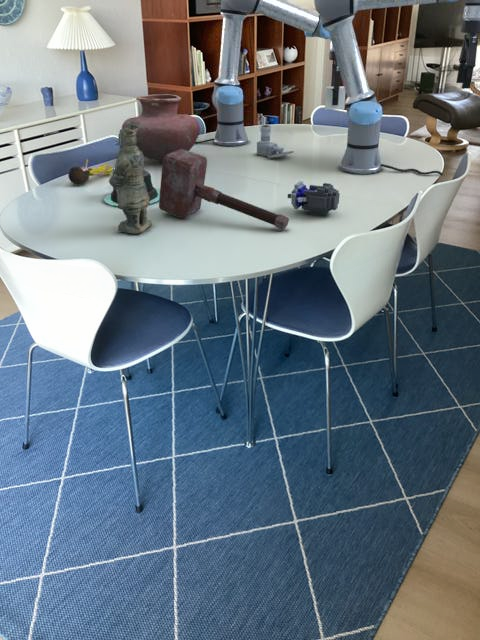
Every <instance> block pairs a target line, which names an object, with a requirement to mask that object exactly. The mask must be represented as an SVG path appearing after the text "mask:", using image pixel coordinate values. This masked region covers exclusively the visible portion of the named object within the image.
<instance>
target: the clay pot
mask: <svg viewBox="0 0 480 640" xmlns="http://www.w3.org/2000/svg"><path fill="white" fill-rule="evenodd" d="M135 100H136V101H139V102H140V105H141V113H140V115H138V116H134V117H129V118H127V119H125V121H123V123H122V125H121V129H123V128H124V127H125V126H126V125H127V124H128V123H131V122H133V121H137V122H138V123H139V127H138V130H137V131H136V138H137V143H136V146H137V147H138V149H139V150H141V151H142V153H143V156H144V159H148V160H151V161H155V162H161V163H163V158H164V156H165V155H167V154H170V153H172V152H174V151H177V150H179V149H184V150H187V151H190V150H192V149H193V147H194V145H196V143H195V142H197V141H198V138H199V136H200V131H201V126H200V123H199V121H198V120H197V119H196V118H195V117H194V116H192V115H190V114H186V113H185V114H182V113H181V114H180V113H178V108H179V103H180V101H182V97H180V96H179V95H177V94H169V93H164V94H163V93H162V94H146V95H139V96H138V95H137V96H136V99H135Z"/></svg>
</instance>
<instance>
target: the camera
mask: <svg viewBox="0 0 480 640" xmlns="http://www.w3.org/2000/svg"><path fill="white" fill-rule="evenodd" d="M271 131H272V126H271V125H270V124H260V125H259V132H260V140H259V141H257V142H256V155H257V156H262V157H267V159H272V158H278V157H283V156H287V155H291V154H292V153H294V152H295V151H294V150H290V151H289V150H288V151H284V148H283V147H280V146H279V145H278V143H276V142H271V133H272V132H271Z"/></svg>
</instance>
